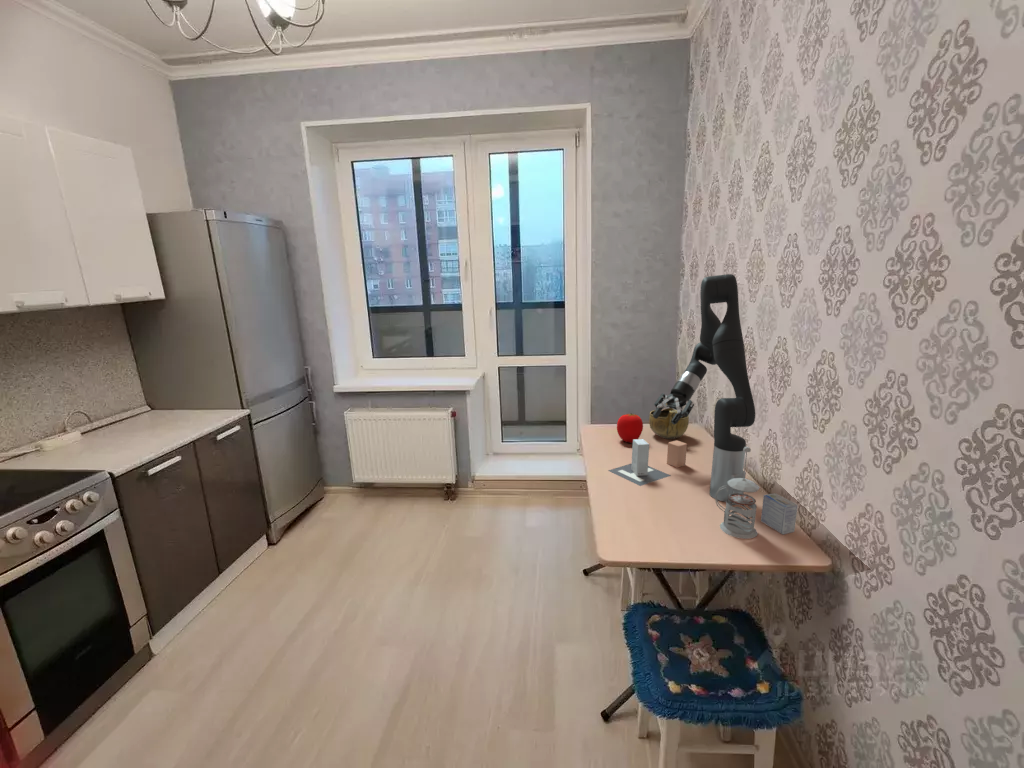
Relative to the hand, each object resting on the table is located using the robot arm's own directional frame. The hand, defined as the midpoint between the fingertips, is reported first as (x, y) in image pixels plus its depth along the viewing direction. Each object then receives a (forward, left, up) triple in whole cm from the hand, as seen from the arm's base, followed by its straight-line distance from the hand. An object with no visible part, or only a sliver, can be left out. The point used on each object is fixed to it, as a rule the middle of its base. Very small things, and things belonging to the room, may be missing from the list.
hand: (663, 420), depth 174 cm
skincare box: (0, +11, -18) cm, 22 cm away
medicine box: (-48, +7, -19) cm, 52 cm away
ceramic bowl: (+22, -30, -19) cm, 42 cm away
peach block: (-2, -6, -19) cm, 20 cm away
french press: (-42, +18, -19) cm, 49 cm away
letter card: (0, +12, -19) cm, 22 cm away
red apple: (+27, -11, -19) cm, 35 cm away
